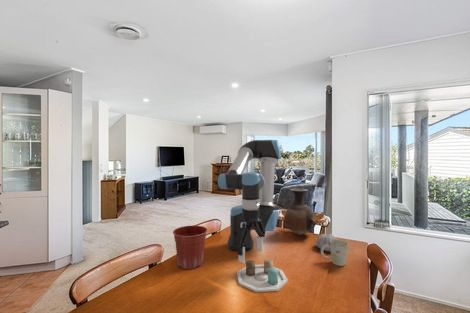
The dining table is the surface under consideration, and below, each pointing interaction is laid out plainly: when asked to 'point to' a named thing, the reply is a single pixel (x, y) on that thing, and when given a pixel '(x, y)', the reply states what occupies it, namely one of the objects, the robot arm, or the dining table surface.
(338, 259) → the mug
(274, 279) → the teal bead
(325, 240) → the sea urchin shell
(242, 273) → the groove tray
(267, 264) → the beige wooden cylinder
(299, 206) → the vase
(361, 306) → the dining table surface
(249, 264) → the walnut bead
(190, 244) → the flower pot
